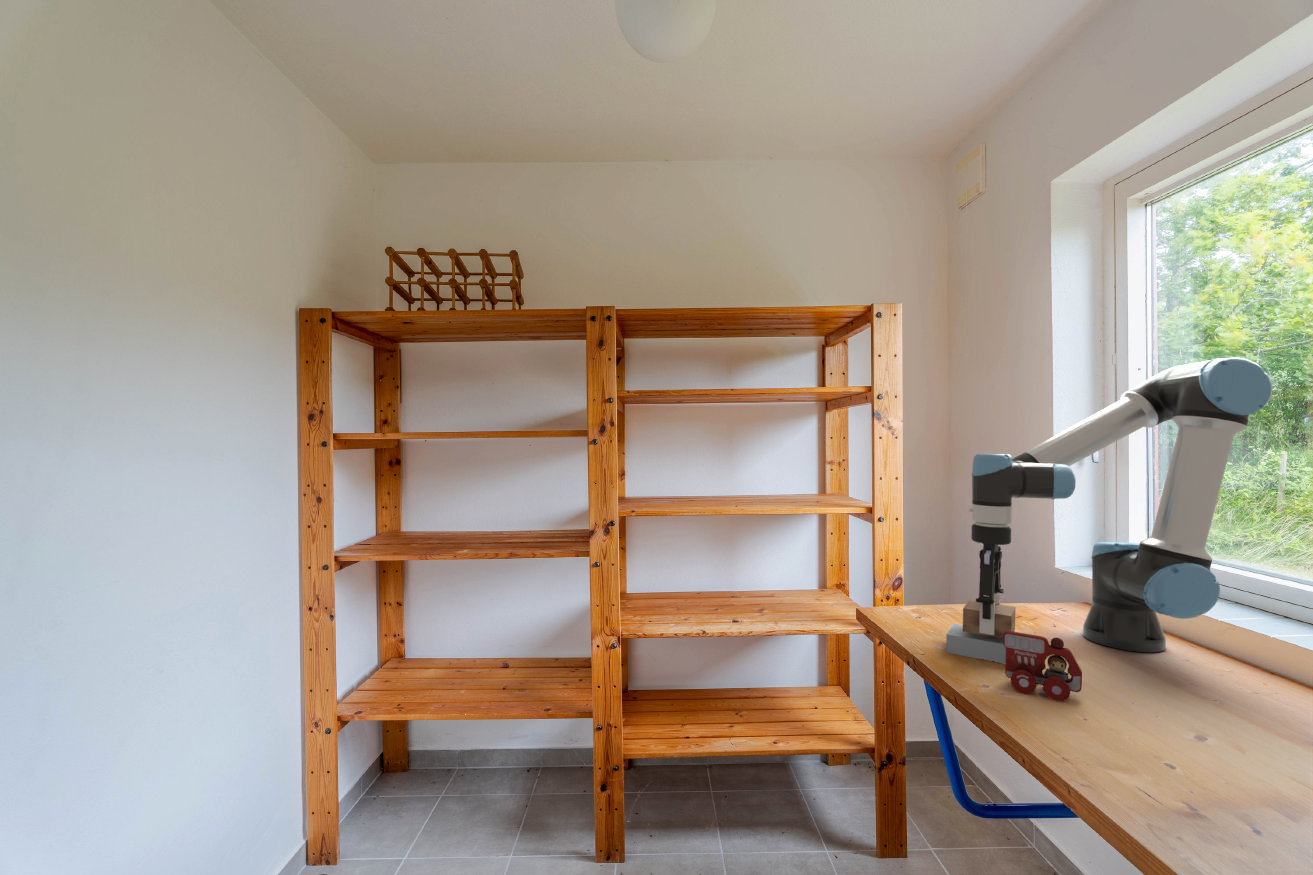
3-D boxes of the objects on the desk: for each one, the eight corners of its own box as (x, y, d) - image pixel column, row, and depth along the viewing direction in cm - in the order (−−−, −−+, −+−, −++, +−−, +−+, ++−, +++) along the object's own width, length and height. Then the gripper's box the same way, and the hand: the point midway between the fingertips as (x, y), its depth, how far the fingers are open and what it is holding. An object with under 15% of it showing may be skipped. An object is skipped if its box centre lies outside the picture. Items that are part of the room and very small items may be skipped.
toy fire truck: (1082, 707, 104) (1083, 647, 104) (1001, 690, 111) (1001, 634, 111) (1081, 693, 110) (1081, 636, 110) (1003, 677, 117) (1004, 624, 117)
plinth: (1035, 656, 128) (1035, 637, 128) (1032, 669, 121) (1032, 649, 121) (953, 641, 138) (953, 623, 138) (946, 652, 130) (946, 634, 130)
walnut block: (1014, 629, 130) (1015, 606, 130) (1010, 640, 123) (1011, 616, 123) (969, 621, 136) (969, 599, 136) (962, 631, 128) (963, 608, 128)
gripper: (978, 517, 140) (977, 612, 140) (963, 528, 123) (962, 637, 123) (1015, 520, 136) (1014, 618, 136) (1005, 532, 118) (1004, 645, 118)
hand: (989, 627), depth 129 cm, fingers closed on walnut block, 9 cm apart
